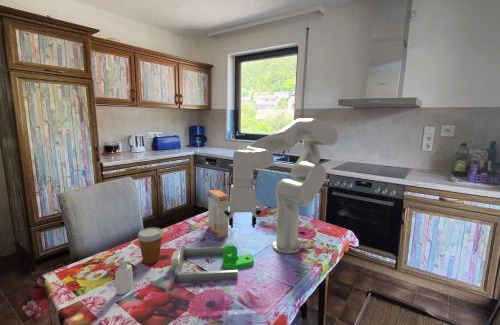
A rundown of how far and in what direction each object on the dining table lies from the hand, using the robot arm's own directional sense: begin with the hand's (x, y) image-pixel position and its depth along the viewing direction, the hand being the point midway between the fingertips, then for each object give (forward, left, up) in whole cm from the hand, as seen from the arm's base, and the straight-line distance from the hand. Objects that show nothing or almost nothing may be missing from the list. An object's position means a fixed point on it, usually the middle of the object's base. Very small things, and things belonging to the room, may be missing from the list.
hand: (242, 226), depth 102 cm
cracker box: (+9, -32, -16) cm, 37 cm away
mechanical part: (+1, 0, -16) cm, 16 cm away
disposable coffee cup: (+37, -7, -16) cm, 40 cm away
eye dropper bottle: (+40, +12, -16) cm, 45 cm away
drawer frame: (+14, 0, -16) cm, 21 cm away
